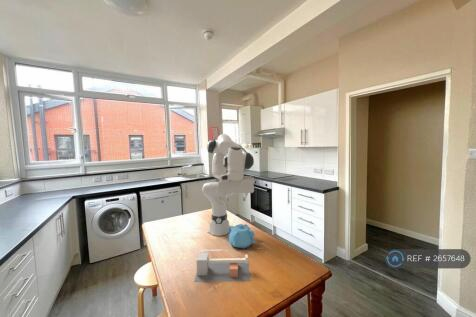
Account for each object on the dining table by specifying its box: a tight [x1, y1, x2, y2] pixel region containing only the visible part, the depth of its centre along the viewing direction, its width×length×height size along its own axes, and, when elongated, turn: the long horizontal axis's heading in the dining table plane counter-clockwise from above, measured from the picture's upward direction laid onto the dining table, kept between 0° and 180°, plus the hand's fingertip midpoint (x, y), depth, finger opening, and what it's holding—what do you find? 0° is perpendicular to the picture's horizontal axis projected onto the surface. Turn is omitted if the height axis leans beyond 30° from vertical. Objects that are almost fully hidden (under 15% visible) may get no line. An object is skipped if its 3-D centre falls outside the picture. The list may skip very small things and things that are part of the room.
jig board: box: [193, 252, 251, 283], centre depth 99 cm, size 16×27×9 cm, turn 91°
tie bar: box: [207, 254, 249, 264], centre depth 99 cm, size 3×24×3 cm, turn 92°
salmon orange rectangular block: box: [230, 263, 238, 277], centre depth 99 cm, size 10×4×4 cm, turn 1°
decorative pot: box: [227, 223, 256, 250], centre depth 128 cm, size 16×16×14 cm
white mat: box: [199, 248, 224, 253], centre depth 114 cm, size 13×14×1 cm
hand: (235, 200), depth 106 cm, fingers open, 8 cm apart
